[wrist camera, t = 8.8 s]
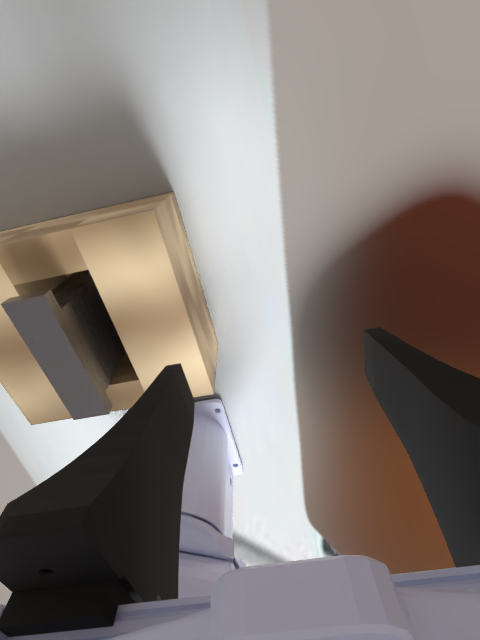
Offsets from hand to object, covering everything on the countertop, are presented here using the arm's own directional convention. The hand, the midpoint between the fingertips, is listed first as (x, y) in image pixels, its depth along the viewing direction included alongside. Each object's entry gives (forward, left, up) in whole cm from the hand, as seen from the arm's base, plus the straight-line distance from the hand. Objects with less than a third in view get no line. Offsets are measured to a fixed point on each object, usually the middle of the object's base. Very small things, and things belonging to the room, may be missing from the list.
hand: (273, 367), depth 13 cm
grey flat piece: (+1, +10, -9) cm, 14 cm away
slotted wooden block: (+1, +10, -10) cm, 14 cm away
